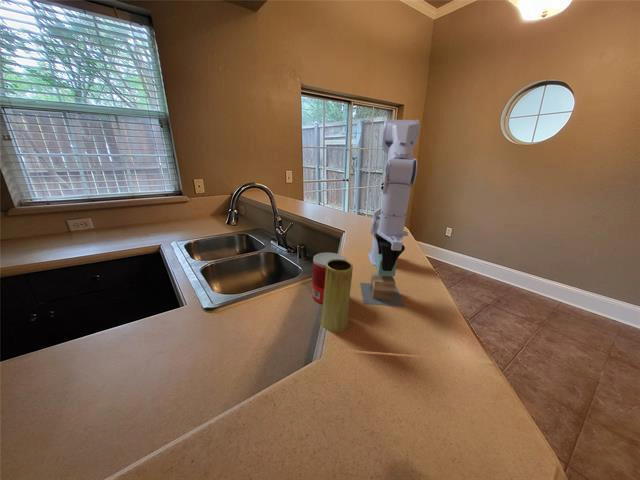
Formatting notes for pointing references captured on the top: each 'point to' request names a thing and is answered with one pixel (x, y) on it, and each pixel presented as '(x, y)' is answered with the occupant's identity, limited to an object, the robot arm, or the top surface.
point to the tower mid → (382, 282)
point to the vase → (336, 295)
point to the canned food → (321, 274)
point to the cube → (380, 270)
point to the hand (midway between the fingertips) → (385, 266)
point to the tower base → (381, 294)
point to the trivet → (369, 300)
